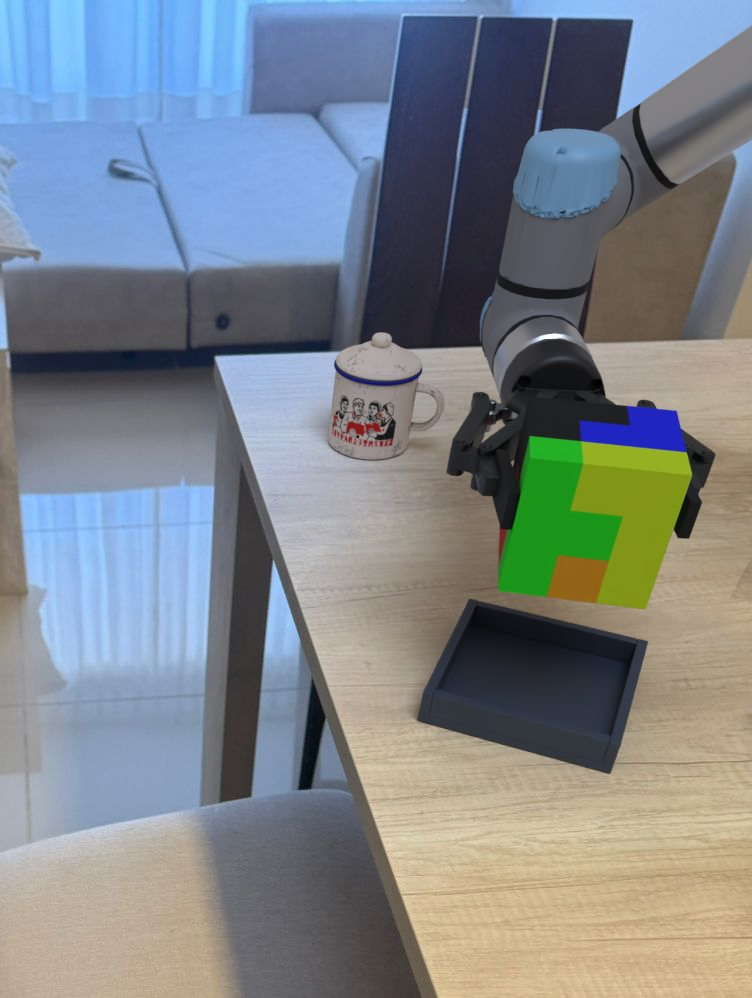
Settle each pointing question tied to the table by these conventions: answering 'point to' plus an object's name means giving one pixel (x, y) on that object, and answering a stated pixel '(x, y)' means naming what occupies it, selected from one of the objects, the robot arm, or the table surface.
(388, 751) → the table surface
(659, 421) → the puzzle toy
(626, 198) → the robot arm
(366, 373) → the teacup with lid
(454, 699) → the dark gray tray
